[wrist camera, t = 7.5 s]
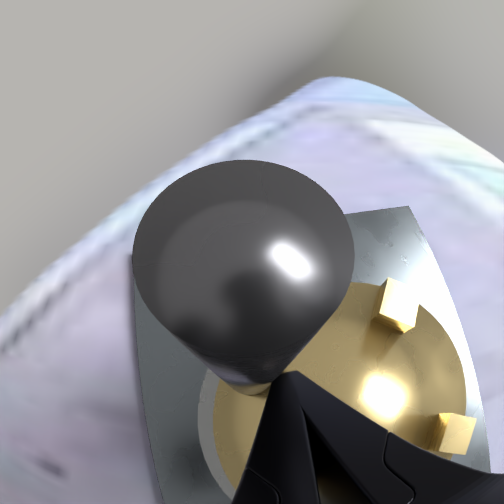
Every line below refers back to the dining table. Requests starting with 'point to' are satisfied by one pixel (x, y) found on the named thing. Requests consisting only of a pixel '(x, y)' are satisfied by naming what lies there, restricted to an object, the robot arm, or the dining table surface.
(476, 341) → the dining table surface
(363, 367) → the brass chuck with rod
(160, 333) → the gray metal base plate
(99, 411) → the dining table surface
